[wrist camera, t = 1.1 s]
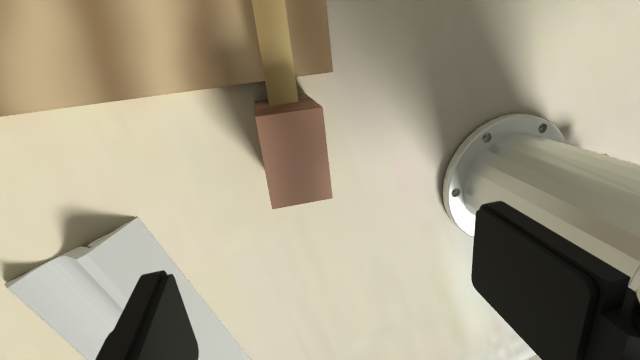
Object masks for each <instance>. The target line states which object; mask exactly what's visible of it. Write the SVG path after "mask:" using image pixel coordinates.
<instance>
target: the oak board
mask: <svg viewBox="0 0 640 360" xmlns="http://www.w3.org/2000/svg"><path fill="white" fill-rule="evenodd" d="M285 6H286V13H287V21H288V28H289V35H290V43H291V50H292V57H293V65H294V72H295V77H298V76H305V75H313V74H320V73H328V72H333V70H332V59H331V49H330V38H329V28H328V17H327V7H326V0H285ZM261 81H265V78H264V73H263V67H262V61H261V55H260V49H259V43H258V37H257V31H256V26H255V20H254V14H253V8H252V2H251V0H0V117H1V116H8V115H16V114H23V113H30V112H38V111H45V110H53V109H60V108H68V107H75V106H83V105H90V104H97V103H105V102H112V101H120V100H127V99H135V98H142V97H149V96H157V95H164V94H172V93H179V92H187V91H194V90H201V89H209V88H216V87H224V86H231V85H239V84H246V83H253V82H261Z"/></svg>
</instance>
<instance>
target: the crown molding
mask: <svg viewBox="0 0 640 360" xmlns="http://www.w3.org/2000/svg"><path fill="white" fill-rule="evenodd" d="M162 270H164V271H165V272H166V273H167V275H168V274H173V275H174V277H175V280H176V283H177V286H178V288H179V291H180V294H181V297H182V300H183V303H184V306H185V309H186V311H187V314H188V317H189V320H190V323H191V326H192V329H193V331H194V334H195V337H196V340H197V343H198V348H199V357H198V360H252V359H251V358H250V357H249V356H248V354H247V353H246V352H245V351H244V349H243V348H242V347H241V346H240V344H239V343H238V342H237V341H236V339H235V338H234V337H233V336H232V334H231V333H230V332H229V330H228V329H227V328H226V327H225V325H224V324H223V323H222V322H221V320H220V319H219V318H218V317H217V315H216V314H215V313H214V312H213V310H212V309H211V308H210V307H209V305H208V304H207V303H206V302H205V300H204V299H203V298H202V296H201V295H200V294H199V293H198V291H197V290H196V289H195V288H194V286H193V285H192V284H191V283H190V281H189V280H188V279H187V278H186V276H185V275H184V274H183V273H182V271H181V270H180V269H179V268H178V266H177V265H176V264H175V262H174V261H173V260H172V259H171V257H170V256H169V255H168V254H167V252H166V251H165V250H164V249H163V247H162V246H161V245H160V244H159V242H158V241H157V240H156V239H155V237H154V236H153V235H152V234H151V232H150V231H149V230H148V228H147V227H146V226H145V225H144V223H143V222H142V221H141V220H140V218H139V217H137V218H135V219H133V220H131V221H129V222H127V223H125V224H123V225H122V226H120V227H119V228H117V229H116V230H115V231H113V232H111V233H109V234H107V235H105V236H103V237H101V238H99V239H97V240H95V241H93V242H92V243H90V244H89V245H87V246H86V247H83V246H81V247H76V248H74V249H72V250H70V251H68V252H66V253H64V254H62V255H60V256H58V257H56V258H54V259H52V260H50V261H48V262H46V263H44V264H42V265H40V266H38V267H36V268H34V269H32V270H30V271H29V272H27V273H26V274H24V275H23V276H20V277H18V278H17V279H16V278H15V279H13V280H11V281H8V282H7V283H5V284H4V285H5V286H6V287H7V288H8V289H9V290H10V291H11V292H12V293H13V294H14V295H16V296H17V297H18V298H19V299H20V300H21V301H22V302H23V303H24V304H26V305H27V306H28V307H29V308H30V309H31V310H32V311H33V312H34V313H36V314H37V315H38V316H39V317H40V318H41V319H42V320H43V321H44V322H46V323H47V324H48V325H49V326H50V327H51V328H52V329H53V330H54V331H56V332H57V333H58V334H59V335H60V336H61V337H62V338H63V339H65V340H66V341H67V342H68V343H69V344H70V345H71V346H72V347H73V348H75V349H76V350H77V351H78V352H79V353H80V354H81V355H82V356H83V357H85V358H86V359H87V360H95V359H96V357H97V355H98V353H99V351H100V349H101V347H102V345H103V343H104V341H105V339H106V338H107V336H108V335H109V333H110V332H112V331H113V330H114V328H115V326H116V324H117V322H118V320H119V318H120V316H121V314H122V312H123V310H124V308H125V306H126V304H127V302H128V300H129V298H130V296H131V294H132V292H133V290H134V288H135V286H136V284H137V282H138V280H139V278H140V276H141V275H143V274H147V273H152V272H157V271H162Z"/></svg>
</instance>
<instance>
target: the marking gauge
mask: <svg viewBox="0 0 640 360" xmlns="http://www.w3.org/2000/svg"><path fill="white" fill-rule="evenodd" d="M251 2H252V8H253V14H254V20H255V26H256V31H257V37H258V43H259V49H260V55H261V61H262V67H263V73H264V78H265V84H266V90H267V96H268V99H267V100H260V101H255V120H256V125H257V131H258V136H259V141H260V146H261V152H262V157H263V162H264V168H265V173H266V178H267V184H268V189H269V194H270V200H271V205H272V209H276V208H282V207H287V206H293V205H298V204H304V203H309V202H314V201H320V200H325V199H331V198H332V189H331V180H330V171H329V162H328V153H327V144H326V135H325V126H324V117H323V108H322V106H320V105H319V104H318V103H316V102H315V101H314V100H313V99H311V98H310V97H309V96H307V95H306V94H302V95H298V94H297V87H296V79H295V72H294V65H293V57H292V50H291V43H290V35H289V28H288V21H287V13H286V6H285V0H251Z"/></svg>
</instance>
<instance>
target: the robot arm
mask: <svg viewBox="0 0 640 360" xmlns="http://www.w3.org/2000/svg"><path fill="white" fill-rule="evenodd" d="M443 200H444V206H445V208H446V211H447V214H448V216H449V217H450V219H451V220H452V222H453V223H454V224H455V225H456V226H457V227H458V228H460V229H461V230H462V231H463V232H465V233H466V234H468V235H469V236H472V237H474V246H473V262H472V283H473V286H474V288H475V289H476V290H477V291H478V292H479V293H480V295H481V296H482V297H483V298H484V299H485V300H486V301H487V302H488V303H489V304H490V305H491V306H492V307H493V308H494V309H495V310H496V311H497V313H498V314H499V315H500V316H501V317H502V318H503V319H504V320H505V321H506V322H507V323H508V324H509V325H510V326H511V327H512V328H513V329H514V331H515V332H516V333H517V334H518V335H519V336H520V337H521V338H522V339H523V340H524V341H525V342H526V343H527V344H528V345H529V346H530V347H531V349H532V350H533V351H534V352H535V353H536V354H537V355H538V356H539V357H540V358H541V359H542V360H640V165H638V164H635V163H631V162H628V161H624V160H621V159H617V158H614V157H610V156H608V155H607V154H600V153H597V152H593V151H590V150H586V149H583V148H579V147H576V146H572V145H569V144H566V142H565V139H564V137H563V135H562V134H561V132H560V131H559V129H558V128H557V127H556V126H555V125H553V124H552V123H551V122H550V121H548V120H545V119H543V118H541V117H538V116H534V115H529V114H510V115H504V116H501V117H498V118H495V119H493V120H491V121H489V122H487V123H485V124H484V125H482V126H480V127H479V128H478V129H476V130H475V131H474V132H473V133H472V134H470V135H469V136H468V137H467V138H466V139H465V141H464V142H463V143H462V144H461V145H460V146H459V148H458V149H457V151H456V152H455V154H454V155H453V157H452V159H451V161H450V163H449V166H448V168H447V170H446V174H445V178H444V183H443ZM198 357H199V348H198V343H197V340H196V337H195V334H194V331H193V329H192V326H191V323H190V320H189V317H188V314H187V311H186V309H185V306H184V303H183V300H182V297H181V294H180V291H179V288H178V286H177V283H176V280H175V277H174V275H173V274H168V275H167V273H166V272H165V271H164V270H162V271H157V272H152V273H147V274H143V275H141V276H140V278H139V280H138V282H137V284H136V286H135V288H134V290H133V292H132V294H131V296H130V298H129V300H128V302H127V304H126V306H125V308H124V310H123V312H122V314H121V316H120V318H119V320H118V322H117V324H116V326H115V328H114V330H113V331H112V332H110V333H109V335H108V336H107V338H106V339H105V341H104V343H103V345H102V347H101V349H100V351H99V353H98V355H97V357H96V359H95V360H198Z"/></svg>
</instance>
